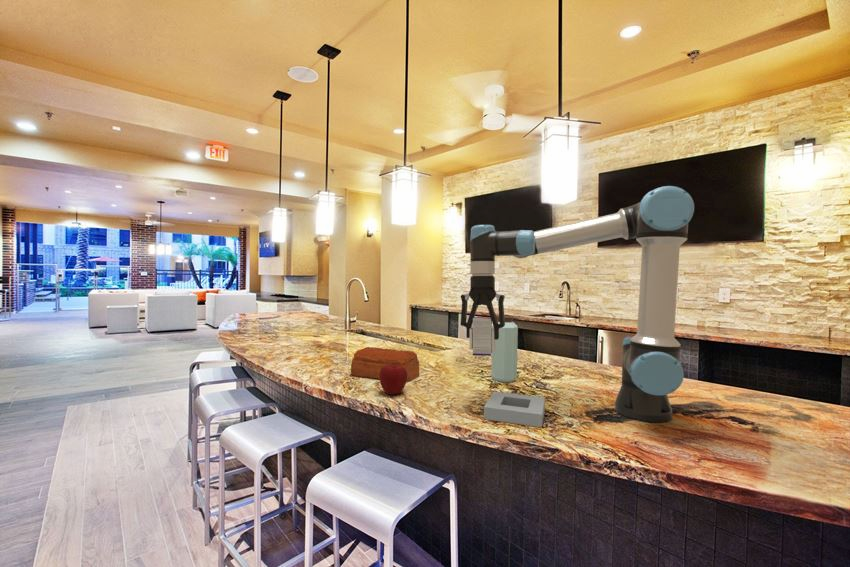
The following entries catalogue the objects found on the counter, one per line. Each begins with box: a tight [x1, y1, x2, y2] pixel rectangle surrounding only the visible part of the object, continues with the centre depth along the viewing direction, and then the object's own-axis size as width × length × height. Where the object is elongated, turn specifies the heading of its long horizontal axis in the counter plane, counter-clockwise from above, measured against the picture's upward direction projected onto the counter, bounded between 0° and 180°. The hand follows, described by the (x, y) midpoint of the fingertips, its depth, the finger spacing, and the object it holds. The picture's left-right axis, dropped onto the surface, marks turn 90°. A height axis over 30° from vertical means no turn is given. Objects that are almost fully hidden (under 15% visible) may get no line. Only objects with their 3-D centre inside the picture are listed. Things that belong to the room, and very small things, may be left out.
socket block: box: [483, 391, 546, 428], centre depth 115 cm, size 16×16×4 cm
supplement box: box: [472, 316, 493, 357], centre depth 121 cm, size 6×6×12 cm
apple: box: [379, 364, 407, 396], centre depth 133 cm, size 10×10×10 cm
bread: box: [350, 346, 420, 383], centre depth 157 cm, size 16×27×11 cm, turn 67°
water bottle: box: [490, 315, 519, 383], centre depth 153 cm, size 10×10×25 cm
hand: (482, 349), depth 121 cm, fingers closed on supplement box, 6 cm apart
